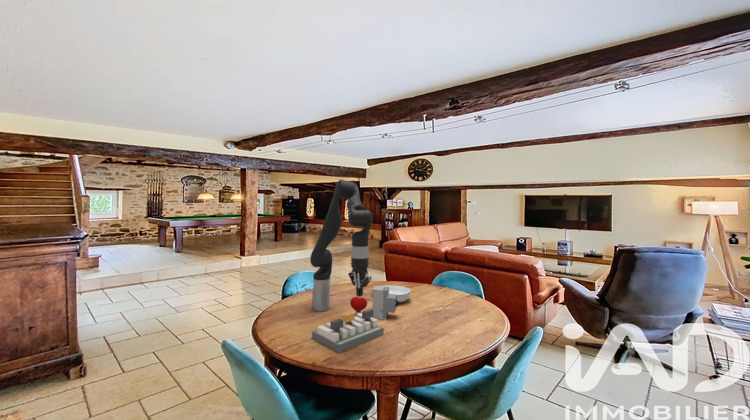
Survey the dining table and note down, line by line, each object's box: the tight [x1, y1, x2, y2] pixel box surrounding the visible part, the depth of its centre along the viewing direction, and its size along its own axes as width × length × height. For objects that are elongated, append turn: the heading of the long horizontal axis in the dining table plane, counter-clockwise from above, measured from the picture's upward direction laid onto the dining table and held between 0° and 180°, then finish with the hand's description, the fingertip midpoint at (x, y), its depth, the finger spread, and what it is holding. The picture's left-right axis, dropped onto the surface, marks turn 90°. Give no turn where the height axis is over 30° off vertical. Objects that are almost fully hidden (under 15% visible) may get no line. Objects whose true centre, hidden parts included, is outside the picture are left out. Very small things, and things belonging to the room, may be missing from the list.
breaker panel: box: [311, 308, 385, 354], centre depth 146 cm, size 19×26×10 cm
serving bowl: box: [384, 285, 412, 303], centre depth 198 cm, size 21×21×7 cm
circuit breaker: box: [370, 285, 400, 320], centre depth 171 cm, size 8×14×15 cm, turn 78°
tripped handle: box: [342, 311, 356, 326], centre depth 146 cm, size 2×5×7 cm, turn 135°
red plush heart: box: [349, 296, 368, 315], centre depth 171 cm, size 9×7×10 cm
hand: (359, 296), depth 140 cm, fingers closed
